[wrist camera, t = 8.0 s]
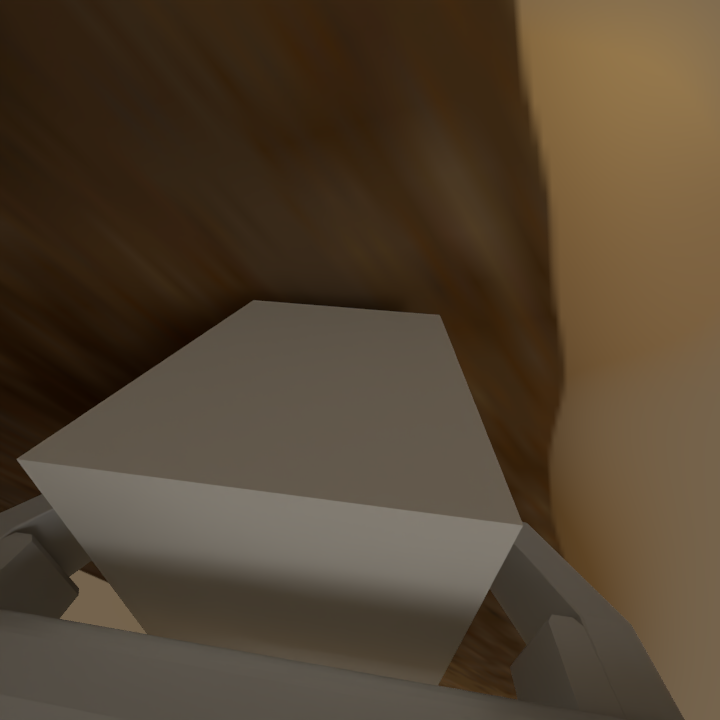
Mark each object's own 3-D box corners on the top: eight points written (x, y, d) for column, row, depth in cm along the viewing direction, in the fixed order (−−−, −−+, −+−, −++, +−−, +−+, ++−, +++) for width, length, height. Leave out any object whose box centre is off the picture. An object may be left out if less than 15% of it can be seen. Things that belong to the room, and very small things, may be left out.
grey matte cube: (253, 300, 11) (16, 459, 4) (439, 315, 10) (523, 525, 4) (272, 437, 14) (159, 649, 7) (413, 453, 14) (430, 698, 7)
